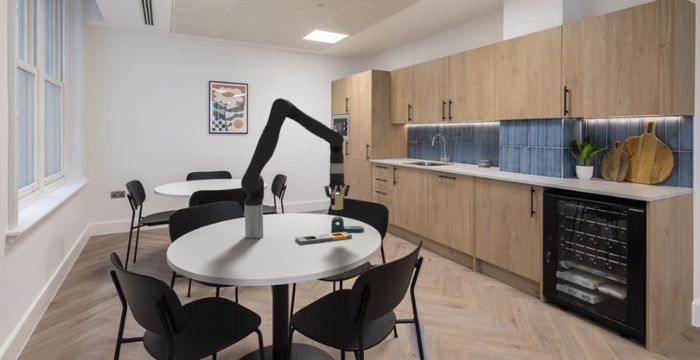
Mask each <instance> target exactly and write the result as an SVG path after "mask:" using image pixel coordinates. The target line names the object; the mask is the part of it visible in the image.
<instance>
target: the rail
mask: <svg viewBox="0 0 700 360" xmlns="http://www.w3.org/2000/svg"><path fill="white" fill-rule="evenodd" d="M352 238H353V235H352V234H351V233H350V232H331V233H323V234H322V233H321V234H313V235H307V236H298V237H297V236H296V237H295V238H294V239H295V242H296V243H298V244H299V245H305V244H306V245H307V244H316V243H323V242H331V241H332V240H333V241H338V240H339V239H340V240H346V239H347V240H348V239H352ZM340 240H339V241H340Z"/></svg>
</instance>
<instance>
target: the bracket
mask: <svg viewBox="0 0 700 360" xmlns="http://www.w3.org/2000/svg"><path fill="white" fill-rule="evenodd" d="M330 224H331V229H330V230H331V231H330V232H331V233H338V232H347V233H363V232H364V231H365V229H364V228H365V226H361V225H345V224H344V218H342V216H340V215H339V216H334V217H333V218H332V219H331V223H330Z"/></svg>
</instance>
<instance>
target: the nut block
mask: <svg viewBox="0 0 700 360" xmlns="http://www.w3.org/2000/svg"><path fill="white" fill-rule="evenodd" d="M331 210H334V211H340V210H341V211H342V210H344V204H343V194H341V193H339V192H336V193H335V194H334V206H332V205H331Z"/></svg>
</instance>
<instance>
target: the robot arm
mask: <svg viewBox="0 0 700 360" xmlns="http://www.w3.org/2000/svg"><path fill="white" fill-rule="evenodd" d="M287 118H288V119H290V120H291V121H292V120H293V121H294V122H296V123H297V124H299V125H300V126H301V127H302V128H303V129H305V130H307V131H308V132H310V133H311V134H312V135H314V136H315V137H318V138H319V139H322V140H323V141H325V142H327V143H328V144H329V152H330V155H329V184H328V185H324V186H323V188H324V191H325V195H326V198H329V199H330V201H329V202H330V205H331V207H332V206H334V194H335V193H341V194H343V205H344V204H345V198H346V197H348V195H349V192H350V187H351V185H350V184H346V183H345V165H344V164H345V163H344V162H345V161H344V141H345V140H344V139H345V138H344V136H343V134H341V133H340V132H338V131H336V130H334V129H332V128H330V127H329V126H328V125H326V124H324V123H323V122H322V121H319V120H317V119H316V118H314V117H312V116H311V115H309V114H307V113H305V112H304V111H303V110H301V109H299V107H297V106H296V105H294V103H292V102H291V101H290V100H289V99H288V98H286V97H278V98H276V99H275V100H274V101H273V102H272V104H271V107H270V111H269V115H268V119H267V122H266V125H265V126H264V128H263V130H262V132H261V134H260V136H259V139H258V141H257V144H256V146H255V149H254V152H253V154H252V157H251V160H250V162H249V164H248V167H247V169H246V170H245V172H244V175H243V176H242V178H241V180H240V181H241V183H240V186H241V189H242V191H243V192H244V193H245V192H246V193H247V196H246V198H245V199H244V205H243V206H244V231H245V238H246V239H254V240H255V239H261V238H264V207H263V205H264V204H263V202H264V198H265V182H264V178H263V176H262V175H261V173H262V171H263V169H264V168H265V167H266V165H267V164H268V162H270V160H271V158H272V157H273V156H274V153H275V151H276V148H277V145H278V143H279V139H280V135H281V134H280V133H281V130H282V126H283V125H284V122H285V121H286V119H287Z"/></svg>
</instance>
